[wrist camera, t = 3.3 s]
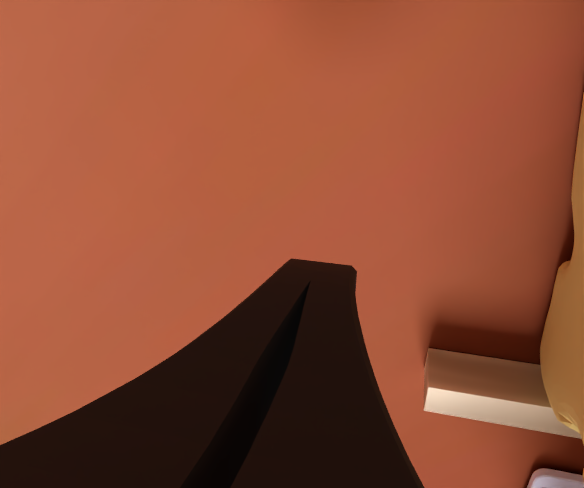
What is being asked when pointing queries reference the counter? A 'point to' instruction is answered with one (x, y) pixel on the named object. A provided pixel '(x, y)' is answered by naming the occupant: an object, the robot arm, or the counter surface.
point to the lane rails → (489, 391)
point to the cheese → (568, 317)
